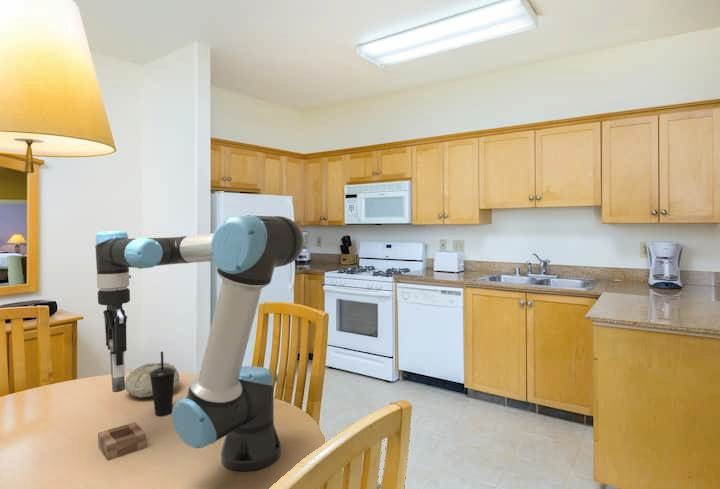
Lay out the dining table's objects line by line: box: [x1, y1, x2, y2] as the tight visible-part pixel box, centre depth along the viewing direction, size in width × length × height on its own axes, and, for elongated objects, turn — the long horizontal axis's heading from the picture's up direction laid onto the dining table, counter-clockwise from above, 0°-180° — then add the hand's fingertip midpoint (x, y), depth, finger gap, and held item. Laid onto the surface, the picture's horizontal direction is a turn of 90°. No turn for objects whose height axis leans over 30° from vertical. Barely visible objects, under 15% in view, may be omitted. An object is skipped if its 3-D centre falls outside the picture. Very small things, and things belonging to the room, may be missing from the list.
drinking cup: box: [149, 351, 175, 417], centre depth 140 cm, size 8×8×20 cm
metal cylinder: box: [109, 339, 126, 393], centre depth 118 cm, size 3×3×14 cm
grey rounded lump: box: [125, 362, 180, 398], centre depth 157 cm, size 18×18×10 cm
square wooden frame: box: [97, 421, 147, 461], centre depth 119 cm, size 9×9×4 cm
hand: (117, 374), depth 118 cm, fingers closed on metal cylinder, 3 cm apart
